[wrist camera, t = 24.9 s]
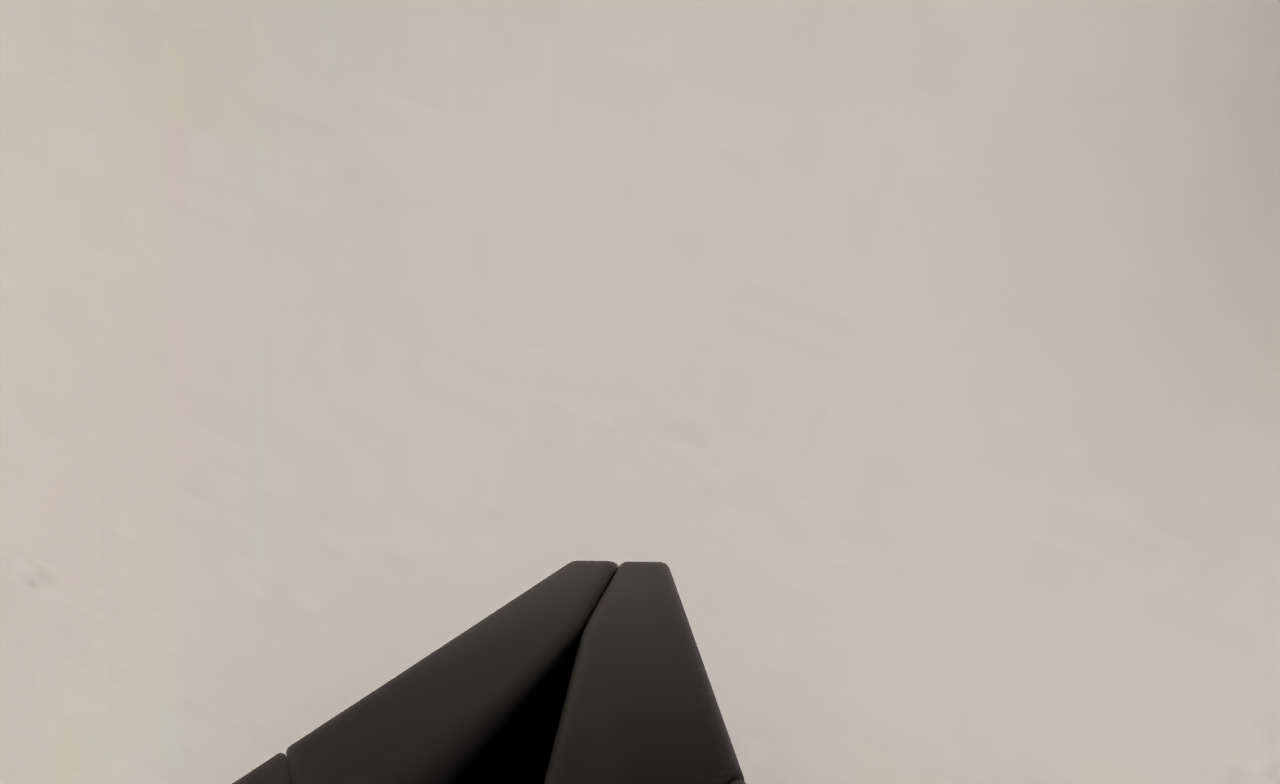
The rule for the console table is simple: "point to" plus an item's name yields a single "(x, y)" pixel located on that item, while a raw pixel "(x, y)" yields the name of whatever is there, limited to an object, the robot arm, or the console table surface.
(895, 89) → the console table surface
